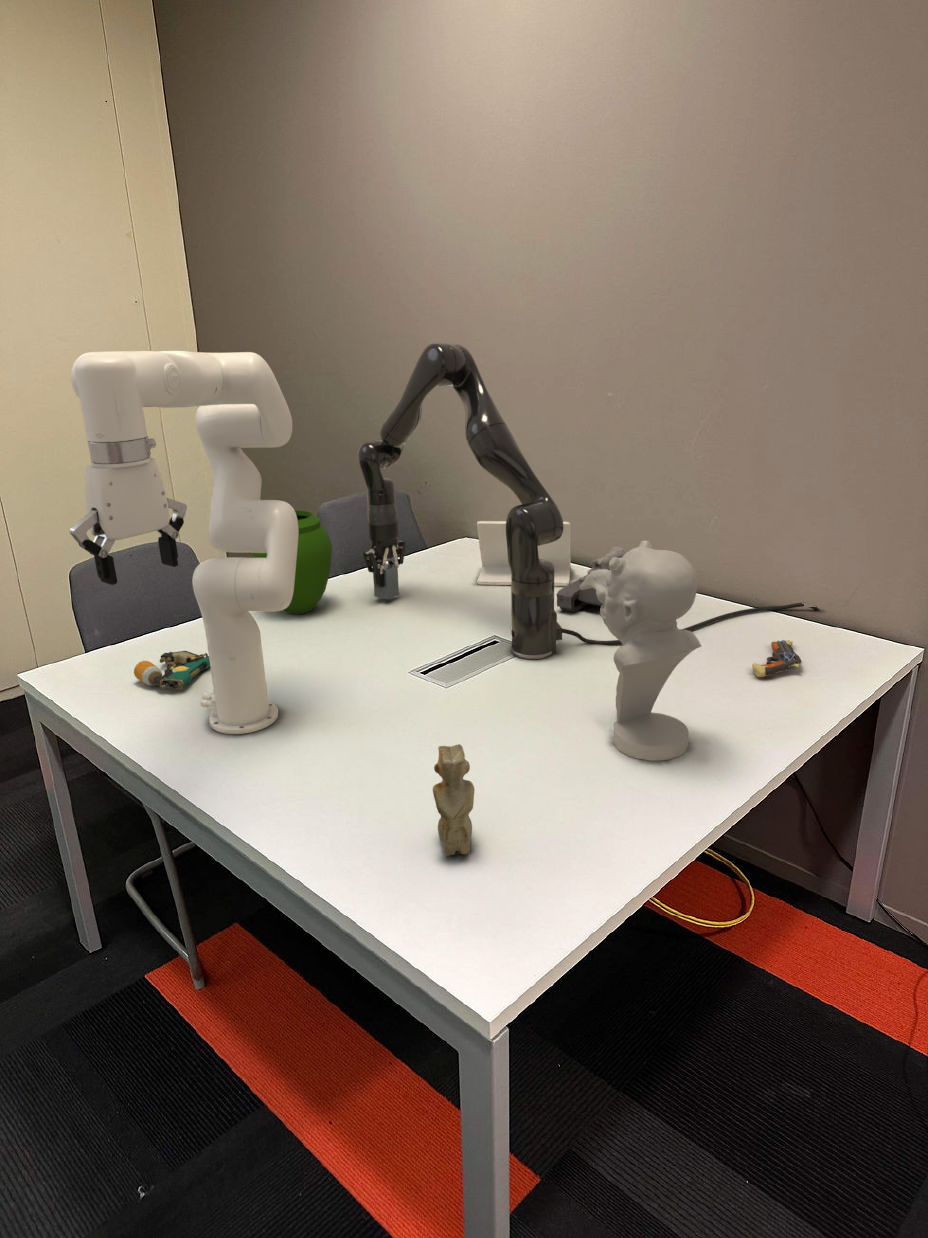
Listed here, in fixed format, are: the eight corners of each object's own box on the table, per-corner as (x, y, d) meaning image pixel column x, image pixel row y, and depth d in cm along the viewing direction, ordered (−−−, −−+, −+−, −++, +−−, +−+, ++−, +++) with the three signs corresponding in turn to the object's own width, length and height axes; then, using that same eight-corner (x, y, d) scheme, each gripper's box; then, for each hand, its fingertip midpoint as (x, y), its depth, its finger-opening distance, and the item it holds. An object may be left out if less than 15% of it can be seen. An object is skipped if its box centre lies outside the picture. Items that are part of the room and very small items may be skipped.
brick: (385, 592, 226) (383, 562, 223) (399, 595, 223) (397, 565, 220) (374, 596, 222) (372, 567, 220) (388, 599, 220) (386, 569, 217)
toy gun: (755, 668, 170) (808, 665, 168) (743, 639, 188) (791, 635, 186) (755, 681, 171) (808, 678, 169) (744, 650, 189) (791, 647, 187)
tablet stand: (569, 585, 229) (570, 524, 223) (476, 584, 232) (475, 523, 226) (570, 566, 246) (571, 508, 240) (484, 564, 249) (483, 507, 243)
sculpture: (474, 829, 125) (472, 739, 120) (477, 859, 119) (474, 765, 113) (434, 831, 125) (430, 741, 120) (435, 861, 119) (431, 767, 113)
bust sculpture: (625, 695, 166) (632, 519, 153) (713, 748, 146) (730, 550, 133) (556, 715, 159) (558, 532, 146) (639, 773, 139) (650, 567, 127)
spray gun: (177, 659, 191) (231, 671, 185) (120, 684, 176) (176, 698, 171) (176, 641, 190) (230, 653, 184) (118, 665, 175) (174, 678, 169)
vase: (352, 603, 220) (345, 511, 212) (301, 627, 205) (291, 529, 197) (296, 592, 230) (287, 503, 222) (243, 614, 215) (231, 520, 206)
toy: (603, 584, 229) (605, 530, 224) (673, 597, 218) (677, 540, 213) (555, 612, 210) (556, 553, 205) (630, 627, 199) (633, 566, 194)
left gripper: (159, 441, 123) (177, 555, 129) (43, 460, 110) (68, 585, 116) (191, 445, 119) (207, 562, 125) (73, 465, 106) (98, 595, 112)
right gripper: (390, 512, 223) (395, 575, 229) (352, 524, 212) (357, 589, 218) (412, 515, 218) (416, 579, 224) (374, 527, 208) (379, 594, 214)
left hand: (140, 573), depth 121 cm, fingers open, 9 cm apart
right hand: (387, 584), depth 221 cm, fingers closed on brick, 4 cm apart
